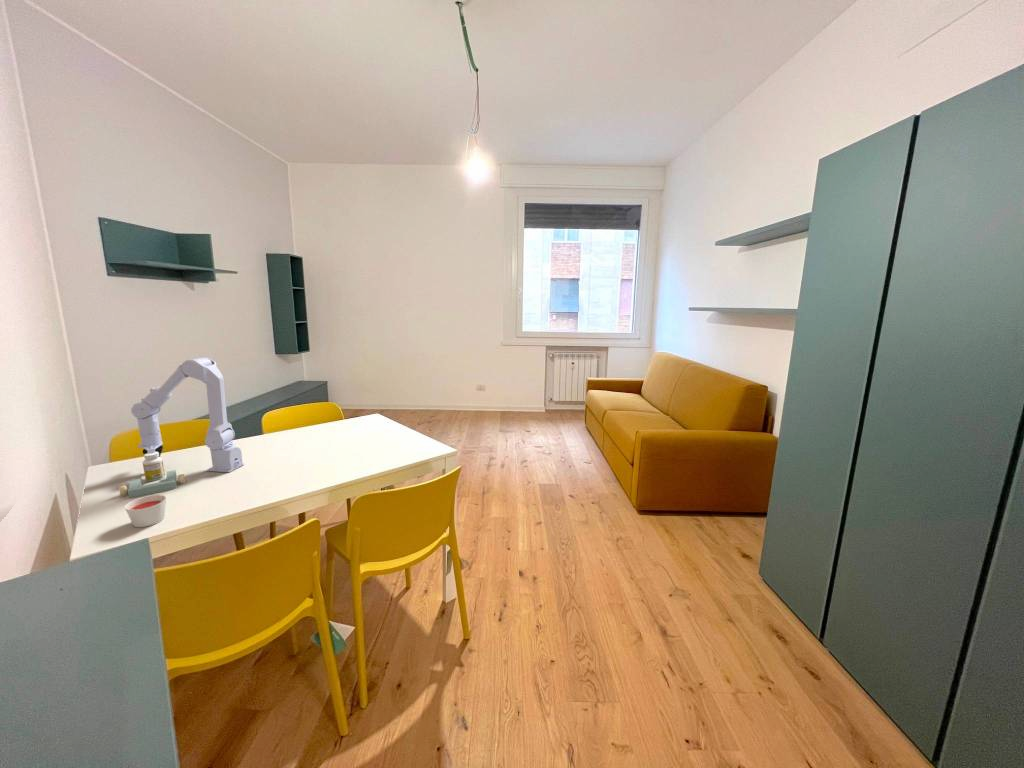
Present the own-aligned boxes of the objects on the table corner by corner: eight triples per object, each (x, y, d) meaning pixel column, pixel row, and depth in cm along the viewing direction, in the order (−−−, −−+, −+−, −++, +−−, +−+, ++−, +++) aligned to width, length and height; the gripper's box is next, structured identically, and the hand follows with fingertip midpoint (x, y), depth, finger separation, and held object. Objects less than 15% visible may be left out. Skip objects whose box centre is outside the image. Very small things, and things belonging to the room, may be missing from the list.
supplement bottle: (153, 475, 148) (149, 450, 146) (169, 475, 148) (165, 450, 146) (141, 481, 142) (137, 456, 140) (157, 481, 143) (153, 456, 141)
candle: (130, 533, 111) (126, 513, 110) (126, 521, 117) (123, 502, 116) (171, 521, 118) (168, 502, 117) (166, 510, 124) (163, 491, 123)
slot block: (123, 486, 138) (121, 479, 138) (185, 474, 149) (183, 467, 148) (119, 500, 129) (117, 491, 129) (185, 486, 140) (183, 478, 139)
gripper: (137, 429, 151) (143, 462, 154) (133, 439, 140) (140, 475, 143) (161, 426, 156) (166, 458, 158) (160, 436, 145) (165, 470, 147)
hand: (155, 466), depth 151 cm, fingers closed
